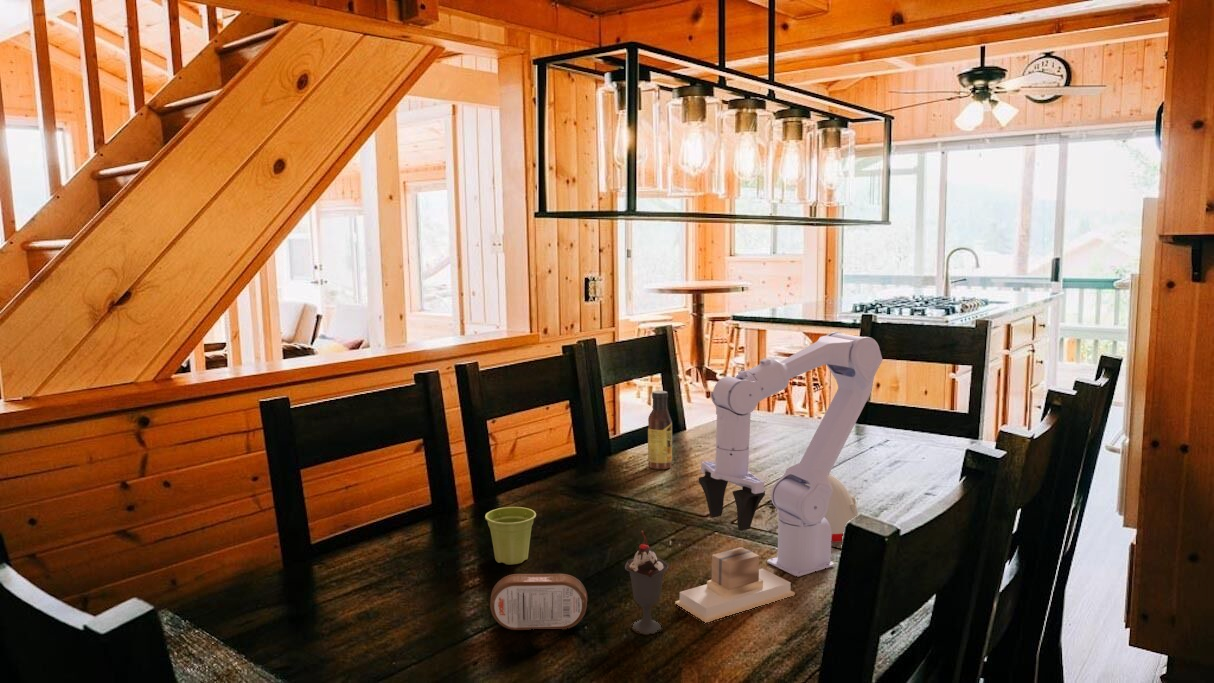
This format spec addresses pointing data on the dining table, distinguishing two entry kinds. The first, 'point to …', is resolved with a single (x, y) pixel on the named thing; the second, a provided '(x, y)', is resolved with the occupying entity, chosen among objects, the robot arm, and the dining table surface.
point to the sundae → (646, 584)
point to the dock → (733, 598)
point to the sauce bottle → (659, 433)
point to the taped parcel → (735, 572)
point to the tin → (538, 601)
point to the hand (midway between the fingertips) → (729, 522)
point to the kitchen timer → (839, 508)
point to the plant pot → (510, 533)
